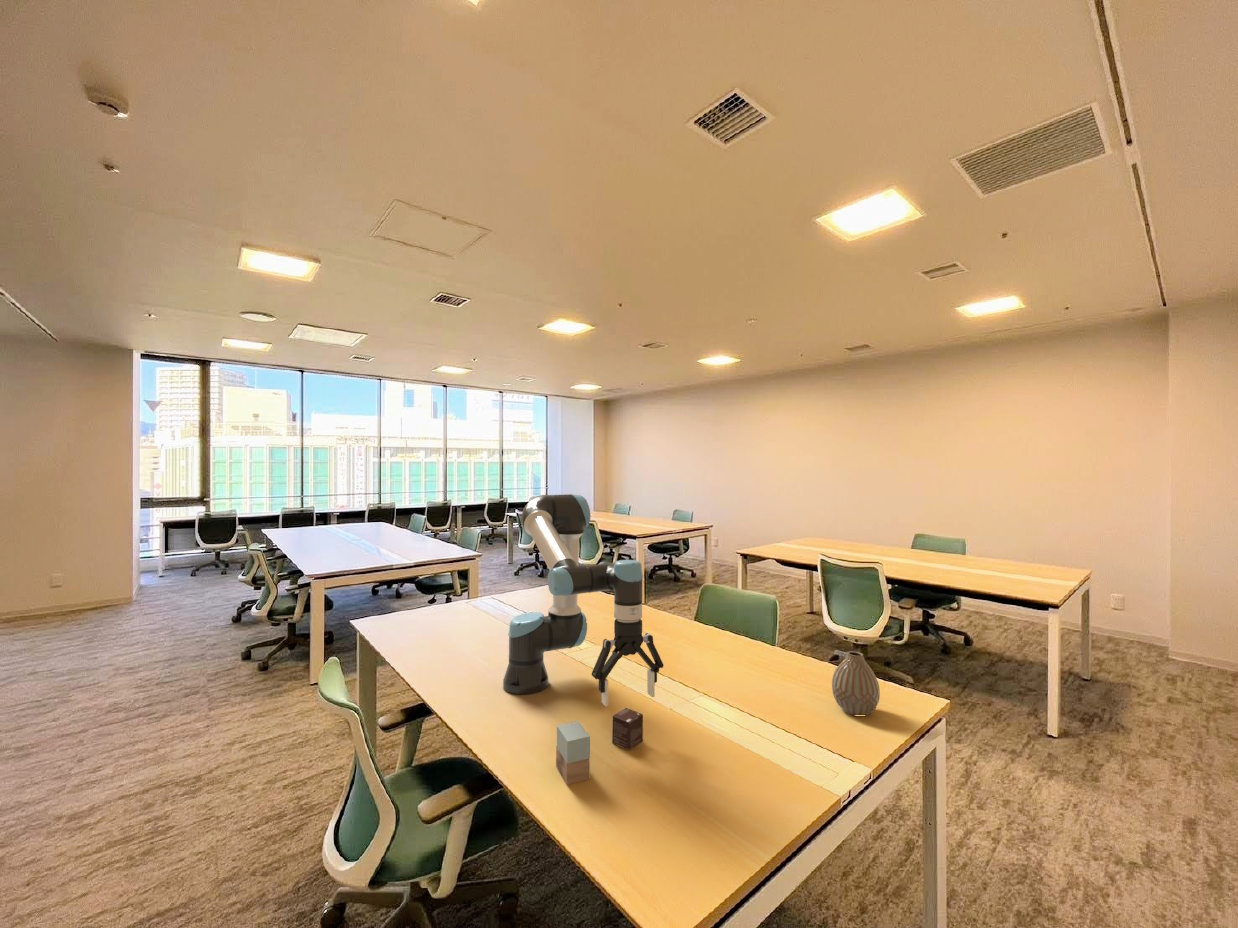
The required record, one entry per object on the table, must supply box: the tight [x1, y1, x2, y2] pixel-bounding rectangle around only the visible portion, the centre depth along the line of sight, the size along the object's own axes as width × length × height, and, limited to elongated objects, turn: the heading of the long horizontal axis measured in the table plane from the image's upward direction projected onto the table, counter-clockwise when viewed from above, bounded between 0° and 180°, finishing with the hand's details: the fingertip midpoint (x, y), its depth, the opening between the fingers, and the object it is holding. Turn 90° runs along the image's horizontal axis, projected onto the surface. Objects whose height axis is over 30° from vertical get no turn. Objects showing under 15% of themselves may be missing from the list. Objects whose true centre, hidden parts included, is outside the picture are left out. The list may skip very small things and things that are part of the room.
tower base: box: [555, 745, 591, 786], centre depth 118 cm, size 8×6×5 cm
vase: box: [831, 650, 881, 716], centre depth 150 cm, size 13×13×18 cm
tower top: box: [556, 720, 591, 764], centre depth 118 cm, size 8×6×5 cm
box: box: [611, 707, 644, 751], centre depth 132 cm, size 6×6×7 cm
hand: (628, 699), depth 132 cm, fingers open, 13 cm apart
